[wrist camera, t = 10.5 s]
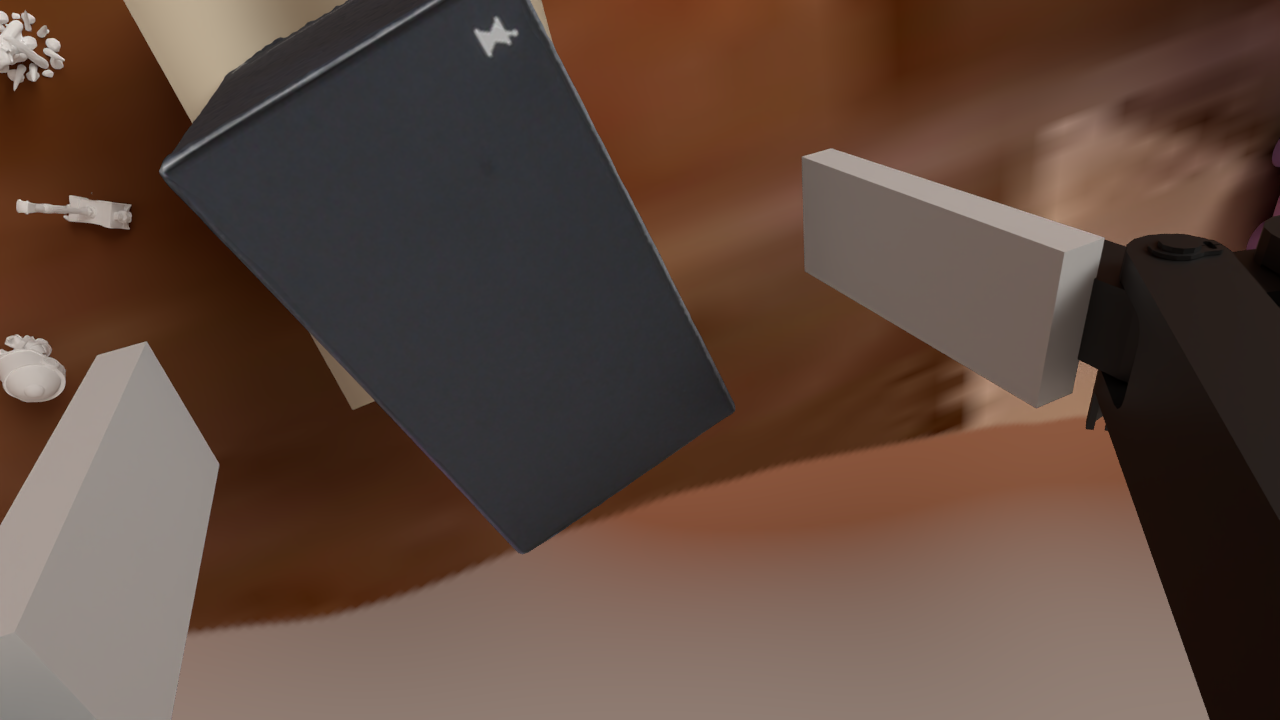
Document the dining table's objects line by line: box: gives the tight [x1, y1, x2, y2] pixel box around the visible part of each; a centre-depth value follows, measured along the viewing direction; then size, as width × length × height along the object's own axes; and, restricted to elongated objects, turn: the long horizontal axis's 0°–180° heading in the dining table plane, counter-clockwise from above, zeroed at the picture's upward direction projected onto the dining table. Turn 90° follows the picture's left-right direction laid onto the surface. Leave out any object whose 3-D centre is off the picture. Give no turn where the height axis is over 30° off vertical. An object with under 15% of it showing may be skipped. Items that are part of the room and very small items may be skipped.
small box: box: [159, 0, 735, 554], centre depth 17 cm, size 11×6×10 cm, turn 27°
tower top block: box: [124, 0, 552, 410], centre depth 23 cm, size 10×13×4 cm
